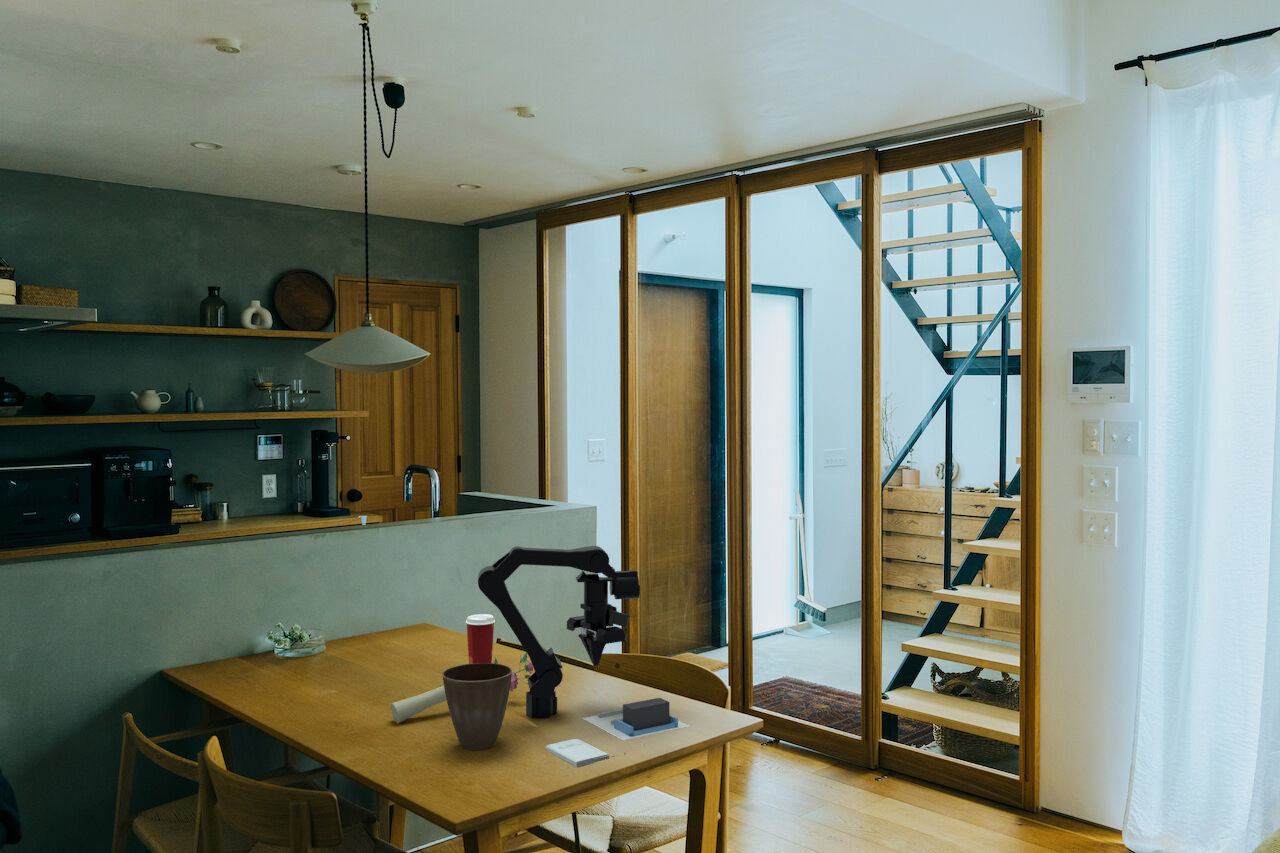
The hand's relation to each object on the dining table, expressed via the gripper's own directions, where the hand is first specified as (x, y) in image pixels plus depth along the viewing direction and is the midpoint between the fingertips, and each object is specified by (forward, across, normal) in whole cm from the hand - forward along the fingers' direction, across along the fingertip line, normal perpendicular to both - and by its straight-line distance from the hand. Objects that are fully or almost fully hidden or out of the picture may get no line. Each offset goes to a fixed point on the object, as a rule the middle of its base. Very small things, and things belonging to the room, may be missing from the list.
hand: (595, 665), depth 234 cm
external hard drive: (+13, -21, +16) cm, 29 cm away
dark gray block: (+11, -16, -4) cm, 20 cm away
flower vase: (+12, +20, +25) cm, 34 cm away
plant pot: (+12, -4, +32) cm, 34 cm away
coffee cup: (+12, +52, +7) cm, 54 cm away
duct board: (+12, -12, -4) cm, 17 cm away
